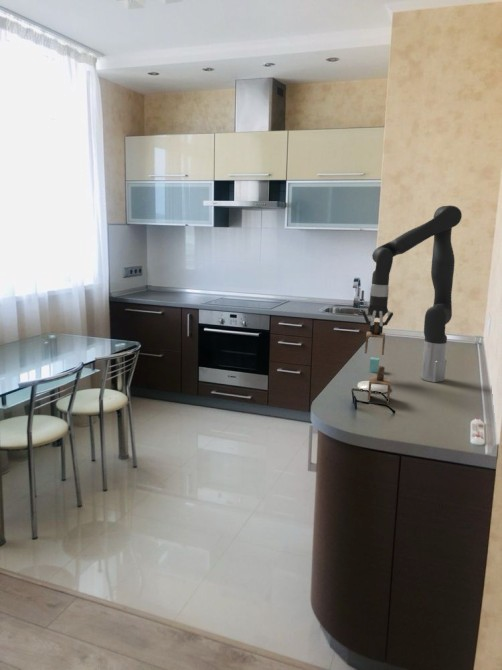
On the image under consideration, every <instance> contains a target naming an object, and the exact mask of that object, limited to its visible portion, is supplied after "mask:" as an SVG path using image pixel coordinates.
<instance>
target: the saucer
mask: <svg viewBox="0 0 502 670" xmlns="http://www.w3.org/2000/svg"><path fill="white" fill-rule="evenodd" d="M358 388H359V389H358ZM357 389H358V390H360V389H363V390H369V380H363V381H359V382H358V383H357ZM387 389H388V385H380V384H371V390H372V391H379V392H381V393H380V394H384V393H386V394H387Z"/></svg>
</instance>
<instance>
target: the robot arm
mask: <svg viewBox="0 0 502 670" xmlns="http://www.w3.org/2000/svg"><path fill="white" fill-rule="evenodd" d="M462 216H463V214H462V210H461V209H460V208H459V207H458V206H455V205H442V206H440V207H438V208H437V209H436V210H435V211H434V213H433V218H432V219H430V220H428V221H427V222H425V223H423V224H421V225H419V226H417V227H414V228H412V229H410V230H408V231H406V232H405V233H403V234H401V235H399V236H397V237H395V238H394V239H393V240H390V241H388V242H386V243H385V244H382V245H380V246H378V247H377V248H375V249H374V250H373V252H372V255H371V256H372V260H373V262H374V263H375V264H376V265H375V270H374V271H373V273H372V275H371V276H372V278H371V285H370V286H371V287H370V292H369V294H370V295H369V306H368V308H367V309H364V310H362V312H361V313H362V315H363V318H364V321H365V323H366V324H367V325H369V332H370V333H371V334H373V328H374V322H375V319H379V322H380V327H379V335H380V334H381V333H383V329H384V328H383V327H384V326H387V325H388V324H389V323H390V321H391V319H392V318H393V316H394V311H393V312H392V311H390V310H389V309H388V303H389V301H388V300H389V295H390V293H389V288H390V287H389V283H390V274H391V270H392V267H393V263H394V262H393V260H394V257H395V256H398V255H403V254H405V253H407V252H408V251H410V250H411V249H413V248H415V247H416V246H417V245H419V244H421V243H422V242H425V241H426V240H428V239H430V238H431V237H433V247H432V257H431V269H430V270H431V271H430V273H431V274H430V275H431V281H432V286H433V290H434V291H433V292H434V296H433V297H434V299H433V305H432V306H430V307H429V308H427V310H426V311H425V315H424V321H423V324H424V325H423V335H424V343H423V350H422V351H423V353H422V363H421V375H420V378H421V380H423V381H427V382H431V383H438V382H439V383H440V382H444V381H445V378H446V377H445V376H446V367H447V360H446V350H447V343H448V342H447V341H448V336H447V334H446V325H447V324H449V322H450V321H451V319H452V315H453V306H452V305H453V304H452V293H453V292H452V291H453V281H454V274H455V273H454V271H455V254H454V249H453V244H452V230H453V228H454V227H456V226H458V225H459V223H460V222H461V221H462ZM368 314H370V316H371V318H370V319H371V320H370V319H369V317H368ZM385 315H387V318H386V319H385V321H384V317H385Z"/></svg>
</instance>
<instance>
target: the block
mask: <svg viewBox="0 0 502 670" xmlns="http://www.w3.org/2000/svg"><path fill="white" fill-rule="evenodd" d="M369 359H370V360H369V370H368V372H369V373H376V374H377V369H378V366H380V357H372V356H371V357H369Z"/></svg>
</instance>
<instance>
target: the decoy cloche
mask: <svg viewBox="0 0 502 670" xmlns="http://www.w3.org/2000/svg"><path fill="white" fill-rule="evenodd" d="M368 381H369V390H368V391H371V384H380V385H388V389H387V392H386V404H387V405H389V404H390V394H391V386H392V385H391V383H392V382H391V377H385V366H381V365H379V366H378V369H377V373H376V376H373V375H372V376H371V375H369V380H368ZM371 394H372V393H371V392H367V401H368V400H369V401H371ZM387 399H388V401H387Z"/></svg>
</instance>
